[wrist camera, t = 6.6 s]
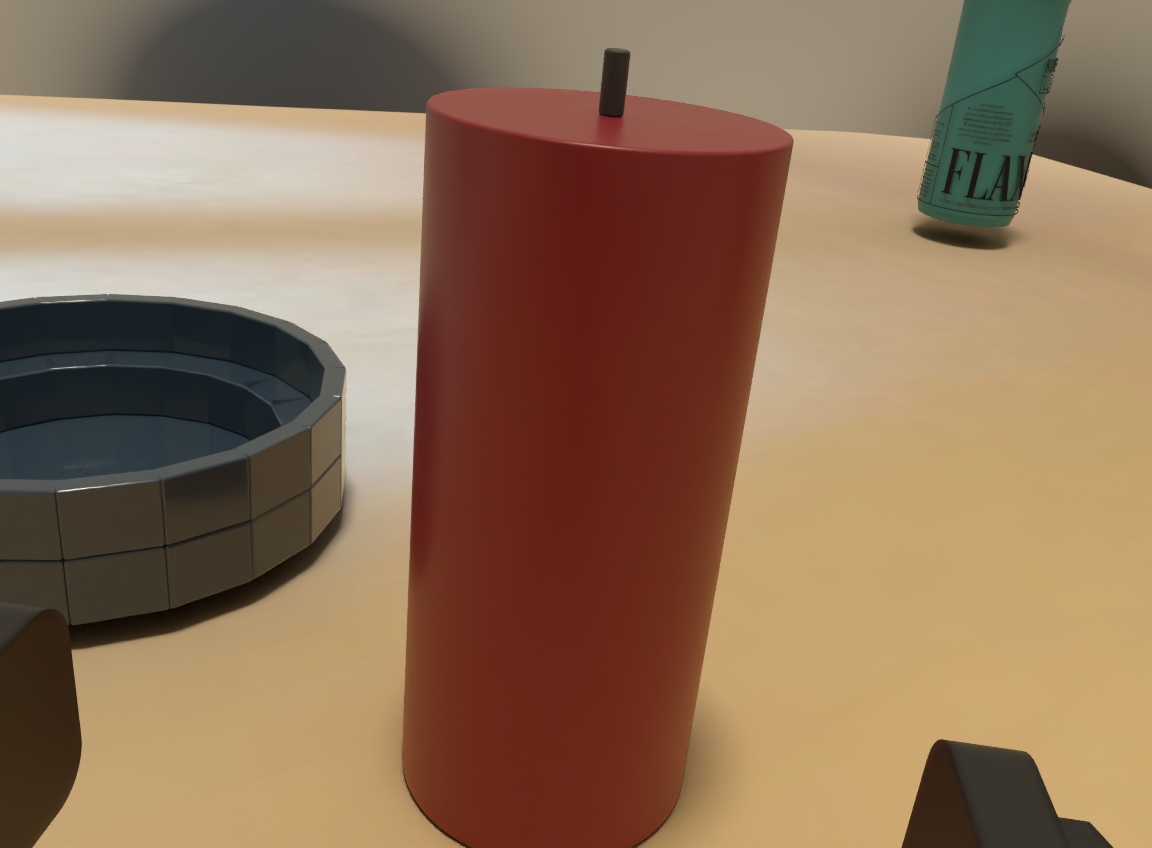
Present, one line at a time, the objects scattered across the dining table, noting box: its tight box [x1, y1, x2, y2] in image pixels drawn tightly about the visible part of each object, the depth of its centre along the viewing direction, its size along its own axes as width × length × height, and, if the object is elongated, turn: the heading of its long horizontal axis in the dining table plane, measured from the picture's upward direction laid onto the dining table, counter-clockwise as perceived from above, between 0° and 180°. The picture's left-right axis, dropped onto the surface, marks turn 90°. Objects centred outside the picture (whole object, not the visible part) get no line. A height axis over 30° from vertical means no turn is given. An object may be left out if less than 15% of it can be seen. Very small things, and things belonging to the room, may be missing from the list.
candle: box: [402, 48, 794, 848], centre depth 20 cm, size 6×6×14 cm
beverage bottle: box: [917, 0, 1071, 227], centre depth 68 cm, size 6×7×20 cm
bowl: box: [0, 294, 346, 625], centre depth 29 cm, size 13×13×4 cm
